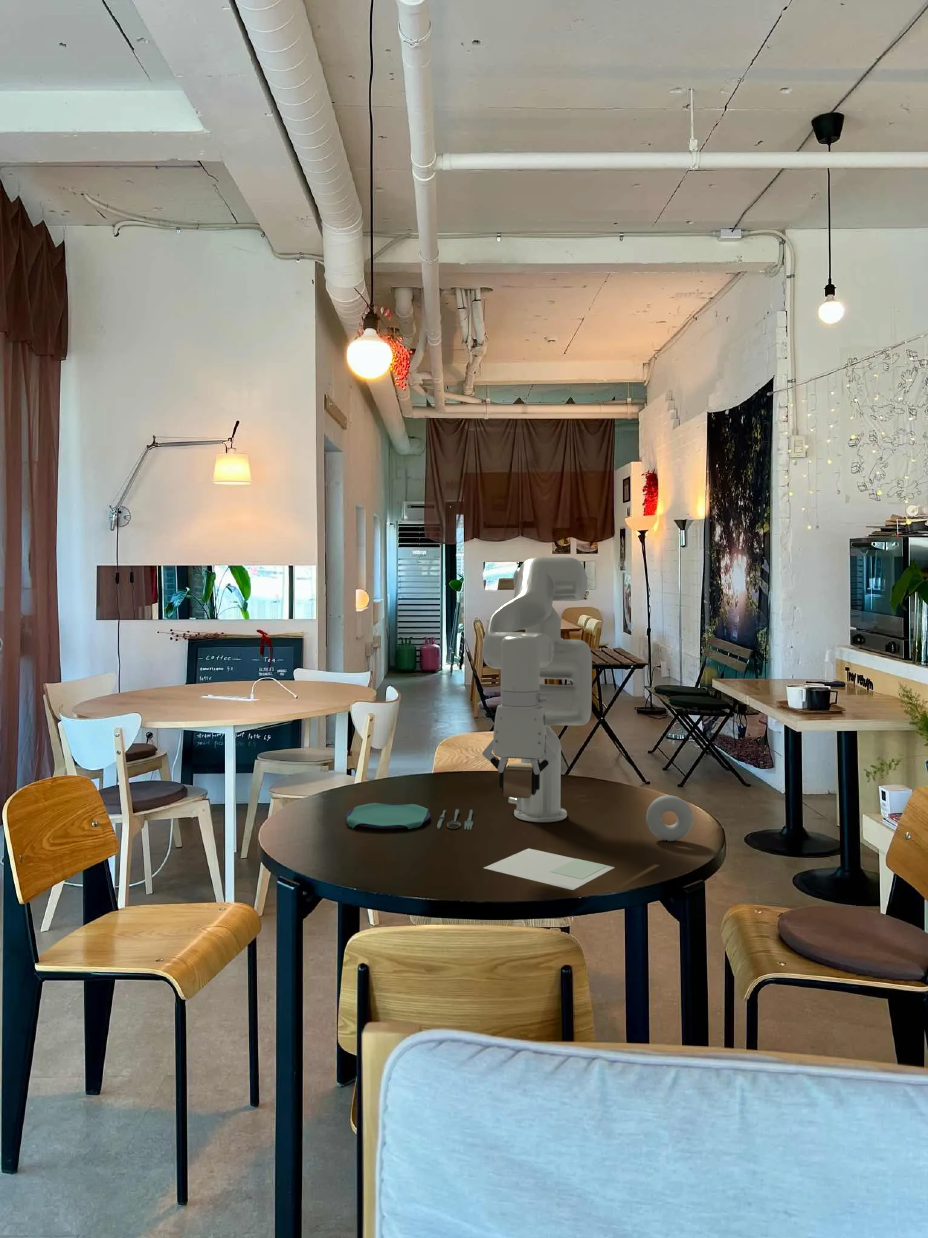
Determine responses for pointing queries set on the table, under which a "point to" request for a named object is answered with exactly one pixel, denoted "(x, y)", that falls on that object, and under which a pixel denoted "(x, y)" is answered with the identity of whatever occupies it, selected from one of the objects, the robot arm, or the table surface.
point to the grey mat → (550, 868)
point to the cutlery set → (396, 816)
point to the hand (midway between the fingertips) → (519, 791)
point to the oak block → (518, 780)
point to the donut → (669, 831)
